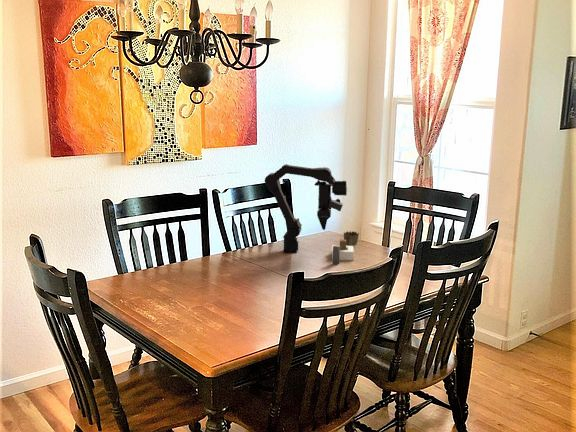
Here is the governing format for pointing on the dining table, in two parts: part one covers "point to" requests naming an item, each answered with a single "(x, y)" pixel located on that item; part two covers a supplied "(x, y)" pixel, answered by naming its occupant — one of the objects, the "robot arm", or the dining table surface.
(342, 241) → the square peg
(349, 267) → the dining table surface
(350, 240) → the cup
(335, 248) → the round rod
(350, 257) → the socket block
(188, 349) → the dining table surface
